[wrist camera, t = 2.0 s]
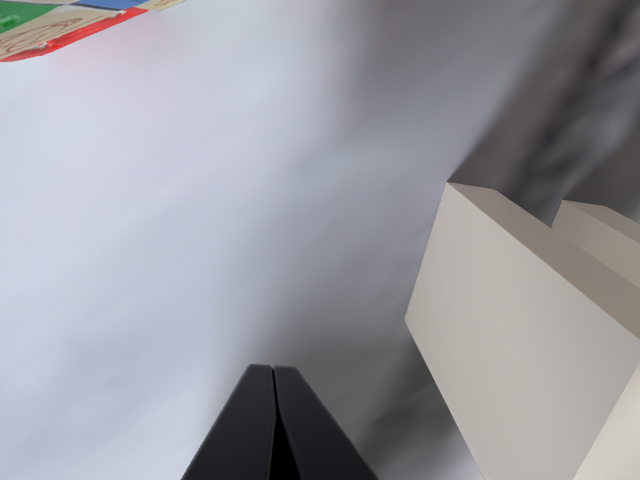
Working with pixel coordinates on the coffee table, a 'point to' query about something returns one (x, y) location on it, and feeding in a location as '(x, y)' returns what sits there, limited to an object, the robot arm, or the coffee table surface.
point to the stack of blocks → (61, 22)
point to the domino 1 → (528, 343)
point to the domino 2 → (602, 236)
